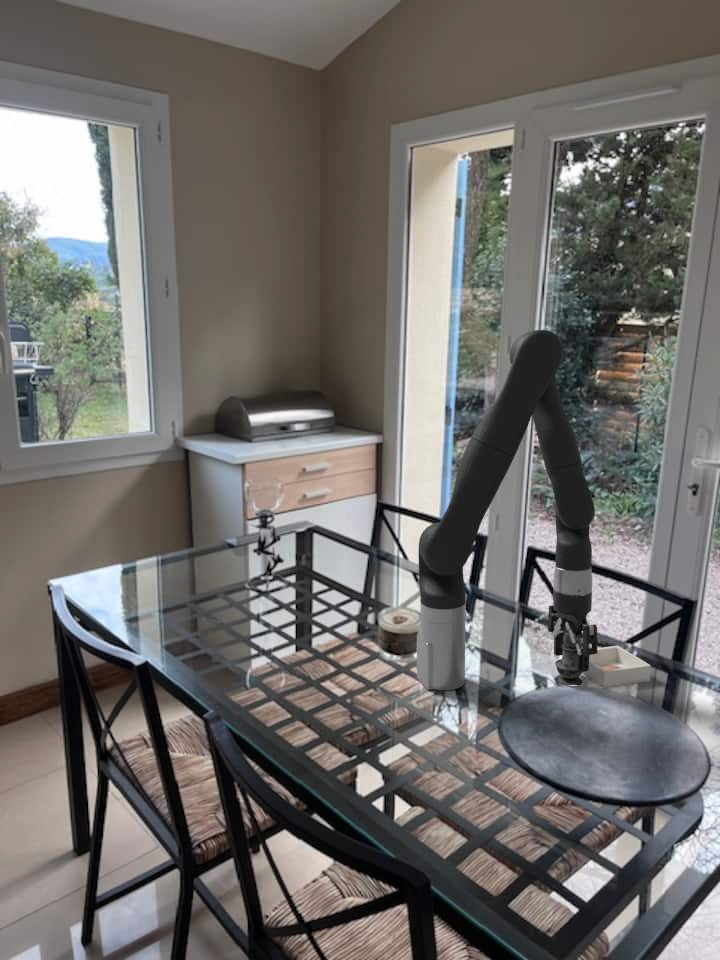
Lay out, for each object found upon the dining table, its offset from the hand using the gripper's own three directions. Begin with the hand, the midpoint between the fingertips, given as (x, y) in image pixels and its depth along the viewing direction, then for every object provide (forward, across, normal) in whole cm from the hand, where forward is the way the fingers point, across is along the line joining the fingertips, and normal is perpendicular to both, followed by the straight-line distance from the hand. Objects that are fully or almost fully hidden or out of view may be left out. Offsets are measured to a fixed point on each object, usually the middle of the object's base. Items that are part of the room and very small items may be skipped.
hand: (570, 662), depth 149 cm
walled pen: (+4, 0, +10) cm, 10 cm away
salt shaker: (+4, 0, 0) cm, 4 cm away
